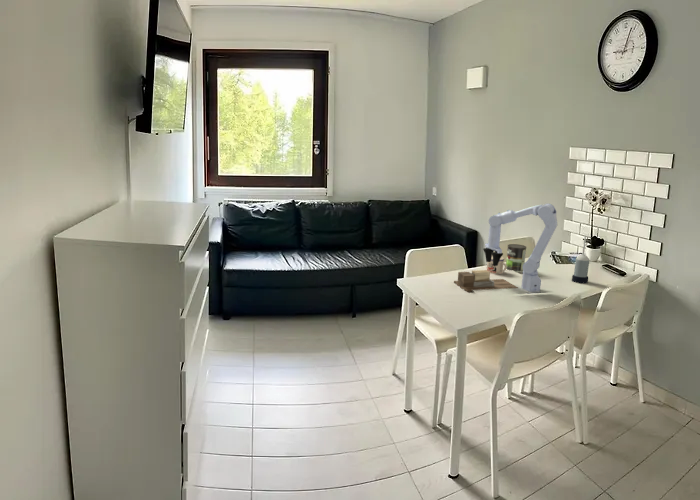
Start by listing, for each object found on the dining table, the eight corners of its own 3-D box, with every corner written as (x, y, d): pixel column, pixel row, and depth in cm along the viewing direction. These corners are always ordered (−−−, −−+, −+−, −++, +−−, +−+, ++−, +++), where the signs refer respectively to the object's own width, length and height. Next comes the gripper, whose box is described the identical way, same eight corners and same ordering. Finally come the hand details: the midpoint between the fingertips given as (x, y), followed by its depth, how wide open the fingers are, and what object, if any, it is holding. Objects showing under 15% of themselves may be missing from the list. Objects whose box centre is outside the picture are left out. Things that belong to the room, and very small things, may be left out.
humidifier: (579, 278, 297) (585, 233, 292) (591, 282, 290) (597, 237, 284) (568, 279, 294) (573, 234, 289) (579, 284, 287) (585, 237, 281)
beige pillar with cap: (488, 285, 276) (490, 272, 274) (473, 286, 274) (474, 272, 272) (485, 283, 280) (486, 270, 278) (470, 283, 278) (471, 270, 276)
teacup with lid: (482, 272, 304) (484, 252, 301) (493, 270, 309) (495, 250, 306) (499, 277, 294) (501, 256, 292) (510, 275, 300) (512, 255, 297)
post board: (518, 289, 273) (519, 276, 272) (466, 292, 267) (468, 278, 266) (502, 280, 289) (504, 268, 287) (453, 282, 282) (454, 269, 281)
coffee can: (513, 273, 305) (516, 248, 302) (501, 268, 314) (503, 244, 311) (527, 271, 309) (530, 247, 306) (515, 267, 318) (517, 243, 315)
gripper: (480, 235, 284) (478, 260, 287) (493, 241, 270) (491, 267, 274) (493, 235, 286) (490, 260, 289) (506, 241, 272) (504, 267, 275)
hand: (491, 263), depth 281 cm, fingers open, 7 cm apart
